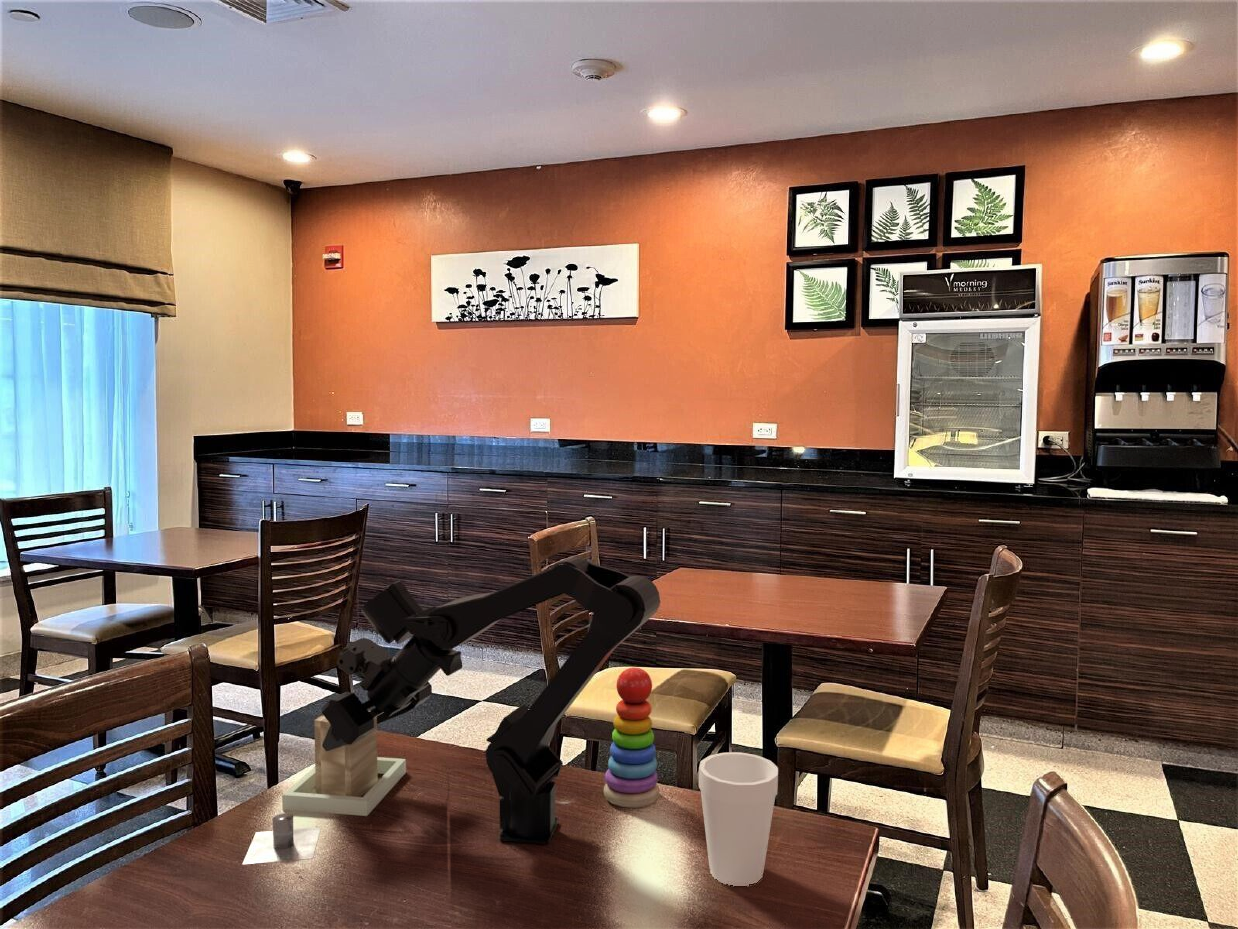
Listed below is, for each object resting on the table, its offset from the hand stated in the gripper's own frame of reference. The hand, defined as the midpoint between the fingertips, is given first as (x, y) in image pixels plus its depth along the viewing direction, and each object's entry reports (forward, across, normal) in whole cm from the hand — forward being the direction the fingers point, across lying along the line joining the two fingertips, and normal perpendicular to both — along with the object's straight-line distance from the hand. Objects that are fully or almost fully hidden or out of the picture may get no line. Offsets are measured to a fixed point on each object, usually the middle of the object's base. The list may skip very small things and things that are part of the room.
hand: (345, 736), depth 126 cm
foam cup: (-33, 0, +46) cm, 57 cm away
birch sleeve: (+6, 0, +6) cm, 8 cm away
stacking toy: (-20, -14, +33) cm, 42 cm away
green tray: (+6, 0, +6) cm, 9 cm away
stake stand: (+4, +16, +8) cm, 18 cm away
